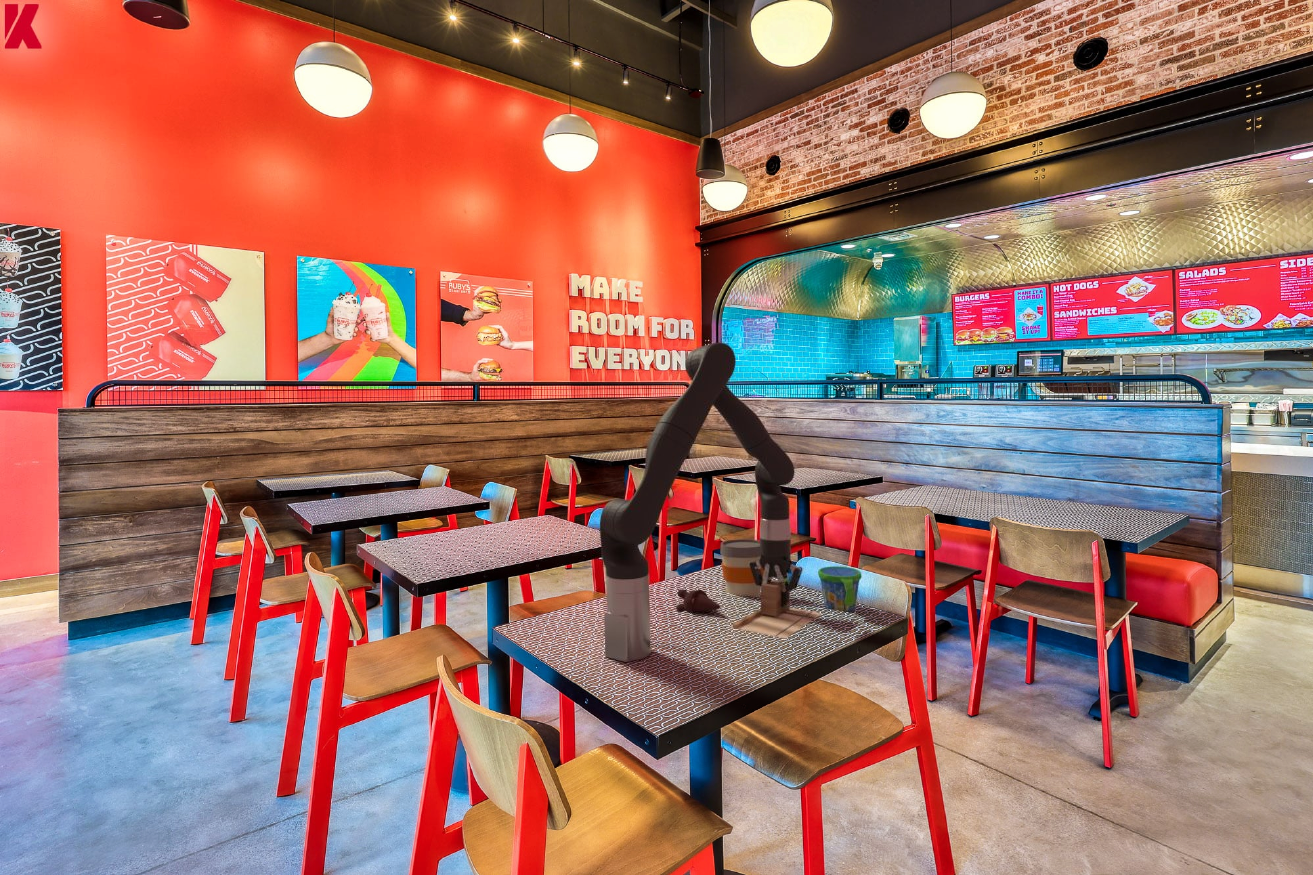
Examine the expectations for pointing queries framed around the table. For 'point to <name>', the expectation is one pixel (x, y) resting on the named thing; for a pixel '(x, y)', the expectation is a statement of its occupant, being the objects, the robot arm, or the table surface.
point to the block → (772, 599)
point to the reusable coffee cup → (740, 566)
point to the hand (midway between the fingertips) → (775, 604)
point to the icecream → (696, 602)
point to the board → (776, 622)
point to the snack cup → (839, 587)
